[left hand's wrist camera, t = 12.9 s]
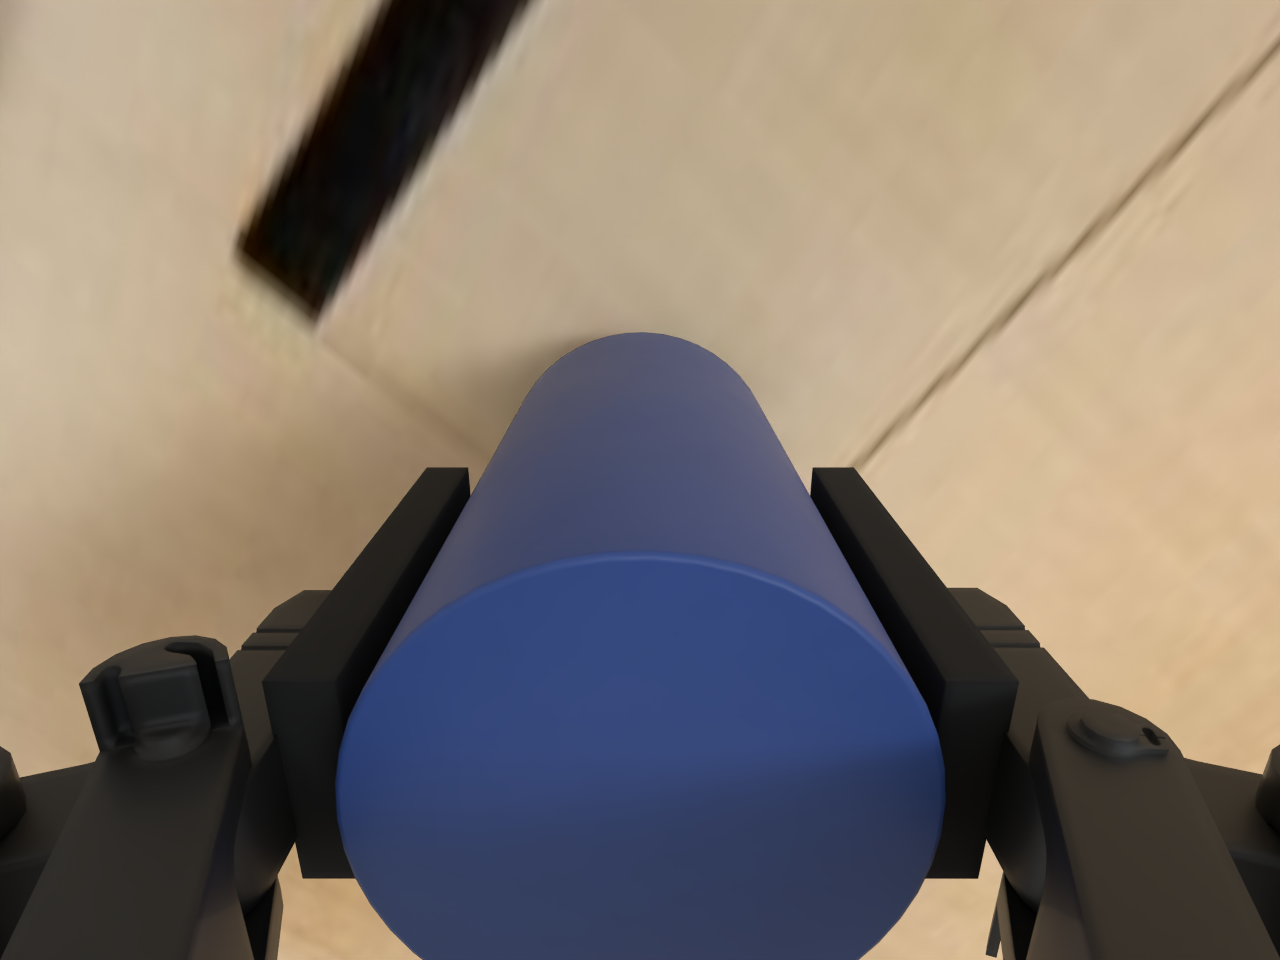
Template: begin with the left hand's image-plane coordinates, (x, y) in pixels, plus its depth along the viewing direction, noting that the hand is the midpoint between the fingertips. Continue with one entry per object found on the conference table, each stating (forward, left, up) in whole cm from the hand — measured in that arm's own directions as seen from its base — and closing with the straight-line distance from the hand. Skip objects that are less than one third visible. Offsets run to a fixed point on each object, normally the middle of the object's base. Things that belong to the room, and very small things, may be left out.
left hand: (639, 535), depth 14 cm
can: (0, 0, -5) cm, 5 cm away
